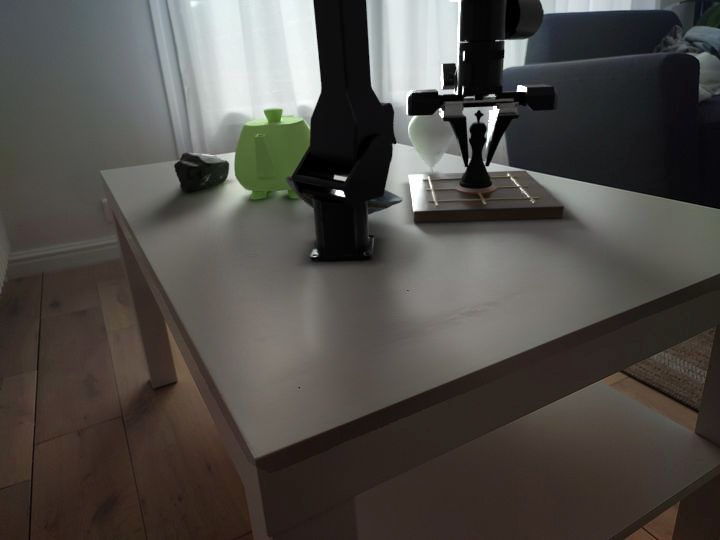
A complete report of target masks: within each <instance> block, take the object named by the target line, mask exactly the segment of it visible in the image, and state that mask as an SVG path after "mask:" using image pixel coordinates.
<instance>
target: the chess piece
mask: <svg viewBox="0 0 720 540" xmlns="http://www.w3.org/2000/svg"><path fill="white" fill-rule="evenodd" d="M473 115H474V116H475V117H476V121H474V122H472V123H471V125H470V126H469V129H468V130H469V131H468V132H469V133H470V137H469V138H468V144H469V145H470V148H471V157H470V161H469V162H468V167H466V169H465V171H464V172H463V173H464V174H463V176H462V180H461V181H460V183H459V185H460V186H461V187H465V188H471V189H481V188H488V187H490V186H492V181H491V180H490V176H489V174H488V172H489V171H488V170H487V167H486V166H485V161H484V159H483V150H484V147H485V146H486V143H487V137H486V133H487V132H488V127H487V125H486V124H485V122H483V121H481V118H482V117H484V115H485V114H484V113H483V112H482V111H481V110H480V109H478V110H477V111H476V112H474V114H473Z"/></svg>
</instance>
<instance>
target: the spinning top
mask: <svg viewBox="0 0 720 540" xmlns="http://www.w3.org/2000/svg"><path fill="white" fill-rule="evenodd" d="M440 113H441V111H440V109H438V110H437V111H436V112H435V113H434V114H433V115H423V116H412V118H411V120H410V121H409V123H408V126H407V127H408V128H407V132H408V133H407V134H408V137H409V140H410V142H411V144H412V146H413V148H414V150H415V151H416V153H417V155H418V156H419V157H420V159H421V160H422V161H423V163H424V164H425V165H426V166H427V167H428V168H429V174H433V168H435V167H436V166H437V165H438V163H439V162H440V161H441V159H442V158H443V156H444V155H445V154H446V152H447V151H448V149H449V147H450V145H451V143H452V142H453V139H454V137H455V134H454V132H453V129H452V127H451V125H450V123H449V122H445V121H442V119H441V118H440Z"/></svg>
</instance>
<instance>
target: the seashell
mask: <svg viewBox="0 0 720 540" xmlns="http://www.w3.org/2000/svg"><path fill="white" fill-rule="evenodd" d="M286 181H287V183H288V184H289V186H290V187H291V188H292V190H293V191H294V192H295V193H296V194H297V195H298V196H299V197H300V198H299V199H301V200H302V202H304V203H305V204H306V205H307V206H308V207H310V208H311V209H313V198H312V197H313V196H312V195H307V194H299V193H297V190H296V188H295V186H294V183H293V181H292V176H288V177H286ZM403 200H404V199H403V197H402V196H399V195H397V194H396V193H394V192H391V191H389V190H386V189H385V191H384V195H383V196H382V197H378V198H375V199H372V200H369V201H367V206H368V215H371V214H373V213H376V212H377V213H378V212H381V211H383V210H386V209H388V208H390V207H392V206H395V205H398V204H400V203H402V202H403Z"/></svg>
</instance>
